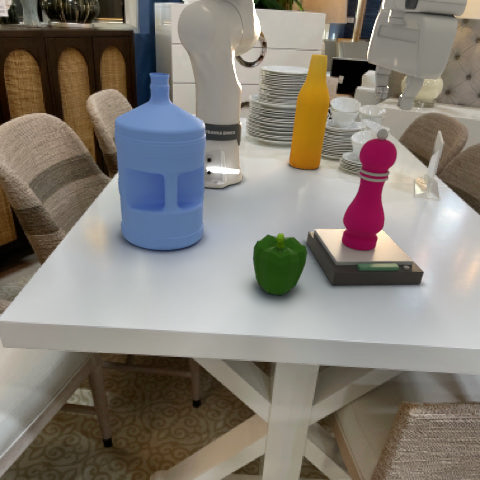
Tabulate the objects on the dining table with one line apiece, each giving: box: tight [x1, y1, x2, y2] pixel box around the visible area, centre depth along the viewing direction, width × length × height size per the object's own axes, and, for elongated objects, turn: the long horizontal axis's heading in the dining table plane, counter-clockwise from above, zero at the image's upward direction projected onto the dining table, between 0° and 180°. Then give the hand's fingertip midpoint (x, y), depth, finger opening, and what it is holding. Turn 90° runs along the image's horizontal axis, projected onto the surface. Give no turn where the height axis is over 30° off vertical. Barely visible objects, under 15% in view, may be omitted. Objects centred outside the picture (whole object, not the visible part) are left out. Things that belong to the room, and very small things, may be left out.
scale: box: [306, 228, 425, 286], centre depth 87 cm, size 16×17×3 cm
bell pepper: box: [252, 232, 308, 296], centre depth 75 cm, size 8×8×10 cm
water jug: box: [114, 72, 206, 251], centre depth 84 cm, size 16×16×28 cm
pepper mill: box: [342, 128, 398, 250], centre depth 81 cm, size 7×7×20 cm
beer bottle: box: [288, 53, 331, 171], centre depth 133 cm, size 9×9×29 cm
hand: (391, 103), depth 74 cm, fingers open, 8 cm apart
